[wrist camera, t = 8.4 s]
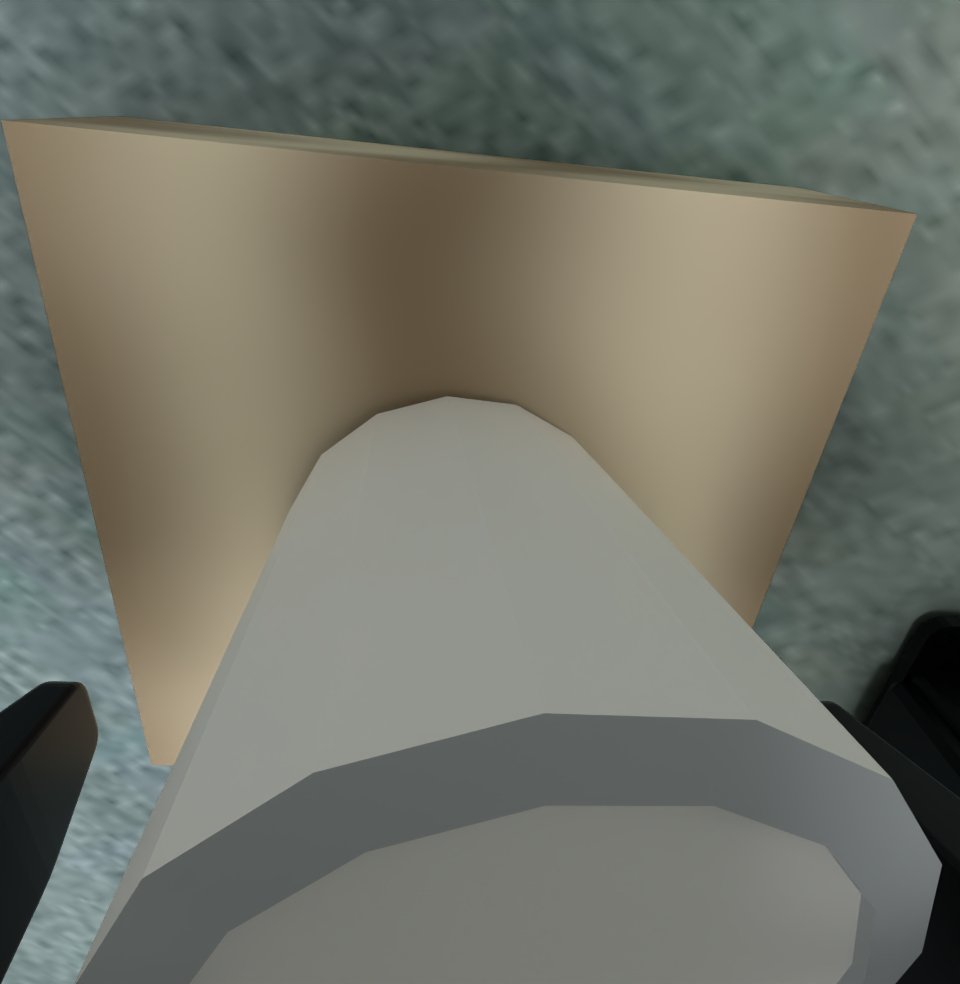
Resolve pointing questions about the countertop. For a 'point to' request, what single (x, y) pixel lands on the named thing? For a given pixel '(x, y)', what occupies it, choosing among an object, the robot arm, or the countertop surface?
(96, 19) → the countertop surface
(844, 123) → the countertop surface
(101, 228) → the birch block
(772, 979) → the shot glass
